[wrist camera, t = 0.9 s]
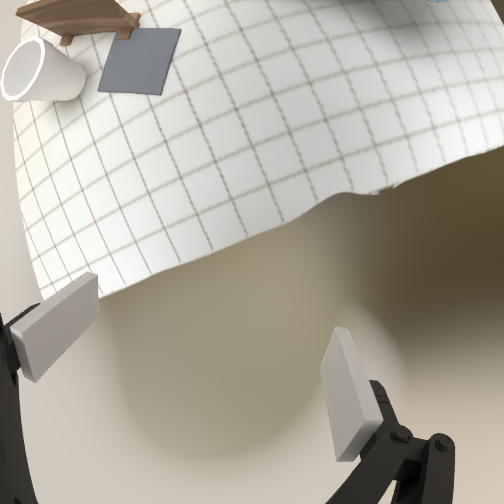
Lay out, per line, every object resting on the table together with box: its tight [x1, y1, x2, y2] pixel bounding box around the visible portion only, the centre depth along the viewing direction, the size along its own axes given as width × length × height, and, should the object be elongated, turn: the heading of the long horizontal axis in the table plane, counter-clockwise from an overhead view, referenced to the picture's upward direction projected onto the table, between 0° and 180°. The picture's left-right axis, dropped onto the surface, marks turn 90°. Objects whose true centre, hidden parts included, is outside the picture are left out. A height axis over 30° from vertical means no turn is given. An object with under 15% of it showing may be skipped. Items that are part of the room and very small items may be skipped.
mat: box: [97, 28, 181, 95], centre depth 35 cm, size 11×11×1 cm
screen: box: [16, 0, 140, 46], centre depth 26 cm, size 5×16×14 cm, turn 77°
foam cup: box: [1, 36, 87, 102], centre depth 30 cm, size 10×9×13 cm
